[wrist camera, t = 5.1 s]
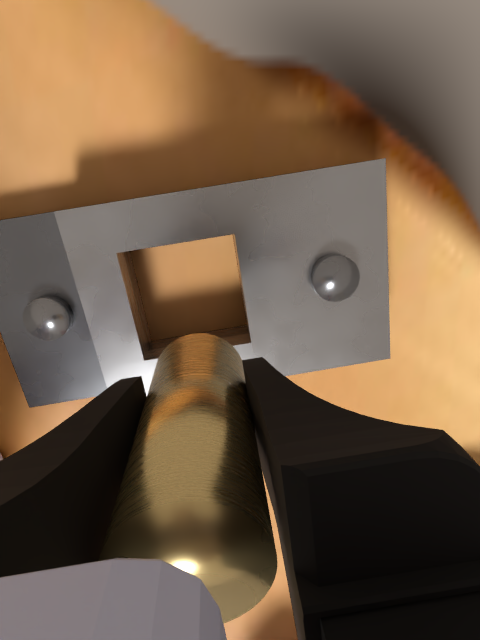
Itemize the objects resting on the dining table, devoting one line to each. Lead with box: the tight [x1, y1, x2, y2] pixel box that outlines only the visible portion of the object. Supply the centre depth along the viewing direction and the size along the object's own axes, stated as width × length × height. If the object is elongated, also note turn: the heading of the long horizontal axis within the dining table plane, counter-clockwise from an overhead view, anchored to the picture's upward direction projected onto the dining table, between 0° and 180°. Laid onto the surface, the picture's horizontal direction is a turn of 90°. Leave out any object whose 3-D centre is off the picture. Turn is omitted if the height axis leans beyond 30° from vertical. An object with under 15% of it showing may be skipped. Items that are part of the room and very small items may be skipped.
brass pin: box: [99, 333, 277, 623], centre depth 10 cm, size 3×3×7 cm
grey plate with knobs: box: [0, 158, 390, 408], centre depth 18 cm, size 18×9×3 cm, turn 99°
